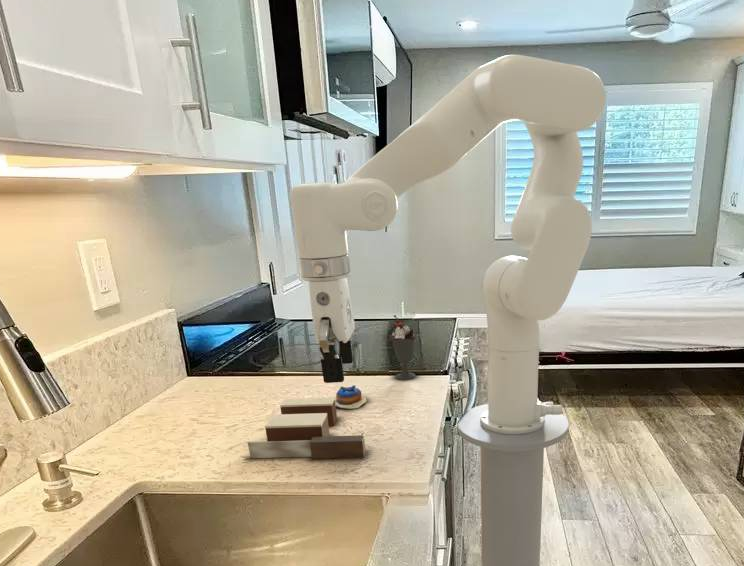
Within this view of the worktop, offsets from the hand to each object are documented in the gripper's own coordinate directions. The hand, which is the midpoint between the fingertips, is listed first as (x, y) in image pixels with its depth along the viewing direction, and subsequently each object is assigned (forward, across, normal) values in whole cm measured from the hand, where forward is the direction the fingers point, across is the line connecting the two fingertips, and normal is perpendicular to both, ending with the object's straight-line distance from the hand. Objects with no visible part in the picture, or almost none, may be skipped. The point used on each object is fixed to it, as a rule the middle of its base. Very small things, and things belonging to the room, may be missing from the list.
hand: (339, 372), depth 95 cm
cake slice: (+15, +14, +10) cm, 22 cm away
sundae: (+16, +41, -7) cm, 44 cm away
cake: (+15, +4, +10) cm, 18 cm away
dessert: (+15, +24, +4) cm, 29 cm away
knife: (+15, -1, +7) cm, 16 cm away
